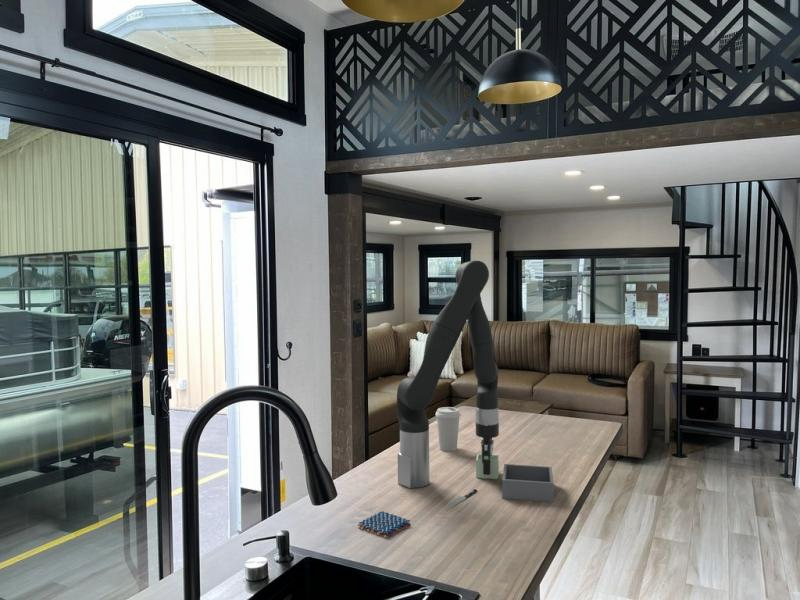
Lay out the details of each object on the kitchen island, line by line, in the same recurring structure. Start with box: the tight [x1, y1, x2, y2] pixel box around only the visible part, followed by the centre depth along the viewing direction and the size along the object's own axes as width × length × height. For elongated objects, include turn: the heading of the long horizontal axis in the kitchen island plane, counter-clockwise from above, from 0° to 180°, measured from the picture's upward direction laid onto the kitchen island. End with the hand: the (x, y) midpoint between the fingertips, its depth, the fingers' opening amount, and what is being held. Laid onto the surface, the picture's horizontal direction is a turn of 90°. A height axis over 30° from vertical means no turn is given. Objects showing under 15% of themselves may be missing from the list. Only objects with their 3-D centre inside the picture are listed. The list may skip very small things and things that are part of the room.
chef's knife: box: [444, 488, 478, 512], centre depth 169 cm, size 19×1×3 cm
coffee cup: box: [435, 406, 462, 452], centre depth 218 cm, size 10×10×15 cm
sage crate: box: [475, 453, 500, 480], centre depth 190 cm, size 6×7×6 cm
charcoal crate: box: [501, 463, 554, 503], centre depth 176 cm, size 15×15×6 cm
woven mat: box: [357, 510, 411, 539], centre depth 152 cm, size 10×11×2 cm
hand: (487, 470), depth 190 cm, fingers open, 8 cm apart
